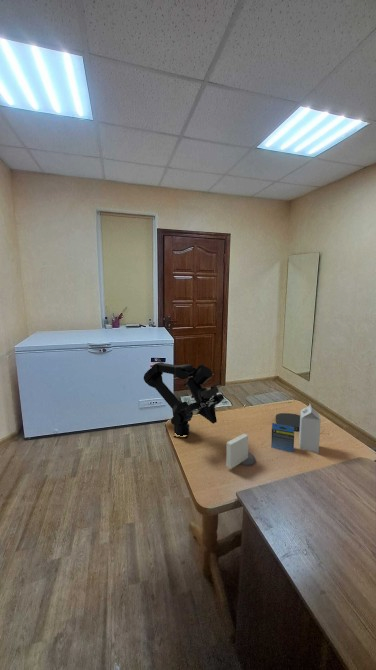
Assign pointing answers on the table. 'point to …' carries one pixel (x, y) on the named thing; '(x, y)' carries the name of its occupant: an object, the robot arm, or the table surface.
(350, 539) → the table surface
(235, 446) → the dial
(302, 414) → the milk carton
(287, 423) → the media streaming box
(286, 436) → the label tape cartridge
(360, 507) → the table surface
